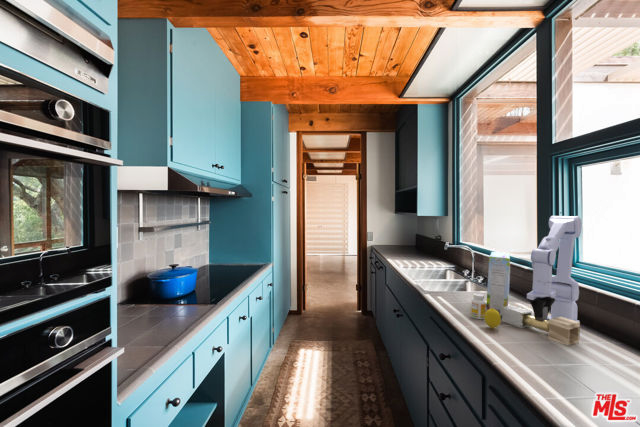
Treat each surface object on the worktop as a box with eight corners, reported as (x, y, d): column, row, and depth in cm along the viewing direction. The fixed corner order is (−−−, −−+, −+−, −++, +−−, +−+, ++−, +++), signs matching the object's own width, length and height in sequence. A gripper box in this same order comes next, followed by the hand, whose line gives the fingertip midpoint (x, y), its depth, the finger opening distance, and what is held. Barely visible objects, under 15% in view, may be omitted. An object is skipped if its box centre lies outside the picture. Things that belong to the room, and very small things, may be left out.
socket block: (560, 335, 114) (560, 316, 114) (579, 342, 109) (579, 322, 109) (548, 338, 112) (549, 319, 111) (567, 345, 106) (568, 325, 106)
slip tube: (516, 319, 128) (517, 297, 128) (561, 334, 113) (562, 310, 113) (510, 320, 126) (510, 298, 126) (554, 336, 111) (555, 311, 111)
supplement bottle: (484, 316, 134) (484, 293, 134) (486, 320, 129) (487, 297, 129) (470, 314, 136) (470, 292, 136) (472, 318, 131) (472, 295, 130)
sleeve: (511, 319, 131) (512, 305, 131) (531, 326, 123) (531, 311, 123) (502, 321, 128) (502, 306, 128) (521, 328, 121) (522, 312, 121)
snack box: (508, 318, 132) (510, 258, 131) (485, 314, 136) (487, 256, 136) (508, 305, 150) (510, 252, 150) (488, 302, 155) (490, 250, 154)
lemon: (502, 332, 117) (503, 311, 116) (486, 330, 118) (487, 309, 117) (497, 326, 122) (498, 306, 122) (482, 325, 123) (482, 305, 123)
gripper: (541, 284, 110) (540, 322, 111) (565, 281, 116) (564, 317, 117) (521, 280, 117) (520, 316, 117) (545, 277, 123) (544, 311, 123)
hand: (540, 316), depth 117 cm, fingers closed on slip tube, 3 cm apart
